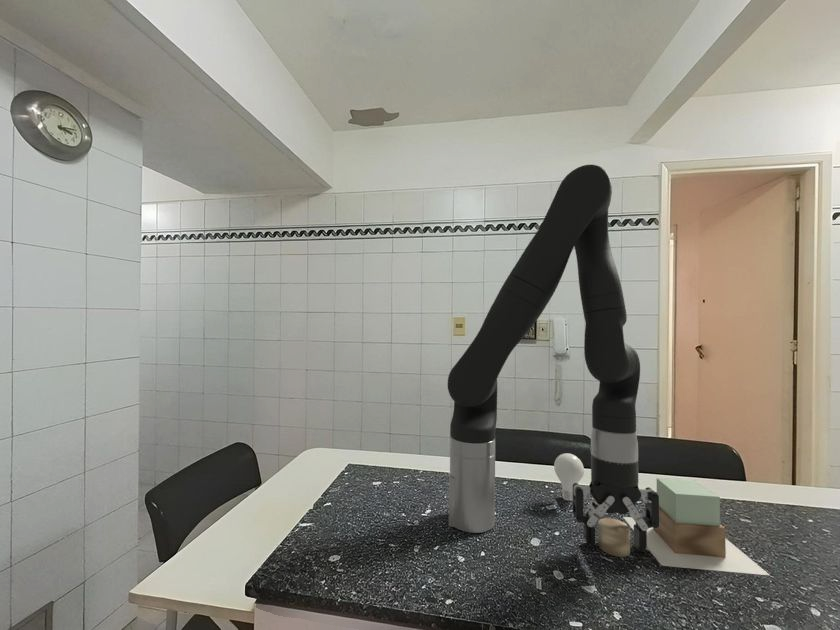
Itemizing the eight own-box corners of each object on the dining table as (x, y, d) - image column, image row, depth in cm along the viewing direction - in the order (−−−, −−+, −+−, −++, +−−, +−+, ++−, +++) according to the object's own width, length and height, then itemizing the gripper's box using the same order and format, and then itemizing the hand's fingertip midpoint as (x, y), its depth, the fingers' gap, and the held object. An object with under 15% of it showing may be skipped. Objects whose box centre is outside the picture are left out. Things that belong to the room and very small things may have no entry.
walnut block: (674, 553, 65) (674, 523, 65) (652, 528, 73) (652, 502, 73) (725, 557, 64) (725, 527, 64) (697, 532, 72) (697, 505, 72)
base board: (661, 571, 62) (661, 565, 62) (622, 521, 78) (622, 516, 78) (770, 581, 59) (770, 575, 60) (707, 528, 75) (707, 523, 75)
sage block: (676, 522, 66) (675, 493, 66) (656, 504, 73) (656, 477, 73) (720, 526, 65) (719, 496, 65) (696, 506, 72) (695, 480, 72)
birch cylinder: (604, 561, 64) (603, 531, 64) (594, 544, 69) (594, 517, 69) (635, 564, 64) (635, 534, 64) (623, 547, 69) (623, 519, 69)
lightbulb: (586, 510, 82) (586, 460, 82) (556, 507, 83) (556, 457, 84) (580, 497, 88) (580, 450, 88) (552, 495, 89) (552, 448, 90)
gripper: (578, 459, 64) (578, 556, 64) (668, 463, 62) (669, 564, 62) (566, 445, 72) (567, 532, 71) (646, 449, 70) (648, 538, 69)
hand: (614, 547), depth 67 cm, fingers open, 7 cm apart
